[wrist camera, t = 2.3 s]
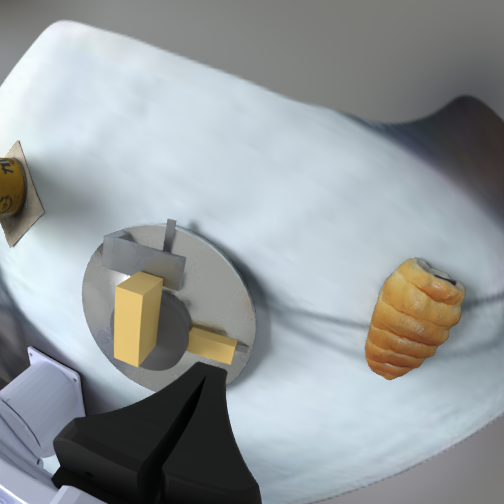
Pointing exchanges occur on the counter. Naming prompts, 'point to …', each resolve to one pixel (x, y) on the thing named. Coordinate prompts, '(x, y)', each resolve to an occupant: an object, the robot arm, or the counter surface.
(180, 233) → the post plate
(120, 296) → the multicoloured piece
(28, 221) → the condiment
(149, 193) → the counter surface
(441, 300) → the pastry
